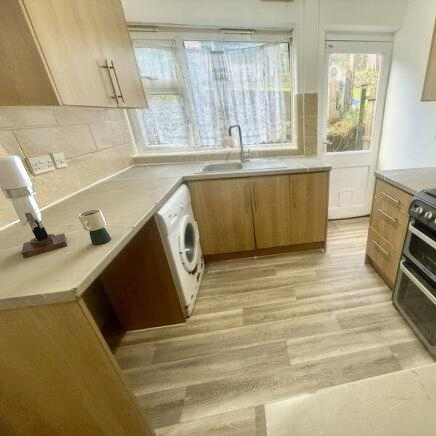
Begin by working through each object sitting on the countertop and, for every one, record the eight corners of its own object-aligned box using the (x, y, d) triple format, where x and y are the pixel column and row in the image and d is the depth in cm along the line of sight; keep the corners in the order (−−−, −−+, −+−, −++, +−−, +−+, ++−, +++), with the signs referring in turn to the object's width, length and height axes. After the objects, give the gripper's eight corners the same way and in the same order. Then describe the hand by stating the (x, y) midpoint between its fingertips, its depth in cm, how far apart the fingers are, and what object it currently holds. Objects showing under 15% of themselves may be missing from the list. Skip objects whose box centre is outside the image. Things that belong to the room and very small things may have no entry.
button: (36, 245, 91) (34, 241, 90) (37, 241, 94) (35, 237, 93) (51, 241, 94) (49, 237, 93) (51, 238, 96) (49, 234, 96)
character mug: (99, 237, 102) (86, 208, 96) (118, 234, 103) (106, 206, 97) (84, 250, 92) (69, 219, 86) (105, 248, 93) (92, 217, 87)
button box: (24, 258, 88) (18, 248, 86) (26, 248, 94) (21, 239, 93) (67, 246, 95) (63, 237, 93) (66, 237, 102) (62, 229, 100)
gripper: (7, 189, 88) (30, 234, 96) (1, 199, 78) (27, 248, 86) (35, 185, 93) (55, 228, 100) (33, 193, 83) (55, 241, 90)
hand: (42, 237), depth 93 cm, fingers closed
